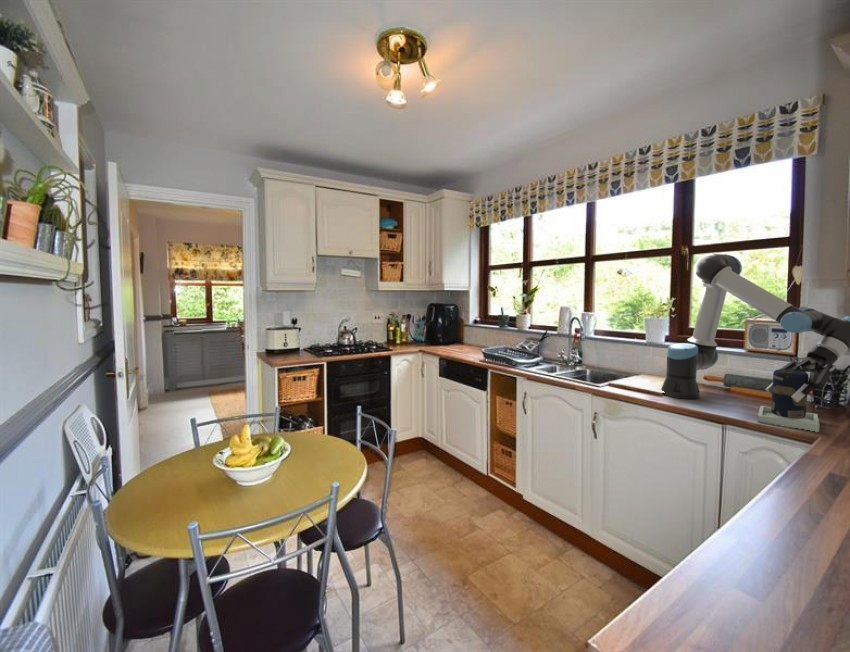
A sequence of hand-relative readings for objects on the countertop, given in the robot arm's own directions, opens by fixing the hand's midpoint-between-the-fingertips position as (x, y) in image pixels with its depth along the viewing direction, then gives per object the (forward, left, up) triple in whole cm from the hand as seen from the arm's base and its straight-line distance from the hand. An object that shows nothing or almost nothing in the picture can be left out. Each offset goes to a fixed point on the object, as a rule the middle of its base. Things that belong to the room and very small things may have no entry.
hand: (780, 395), depth 145 cm
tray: (0, +3, -10) cm, 10 cm away
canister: (0, +3, -8) cm, 9 cm away
